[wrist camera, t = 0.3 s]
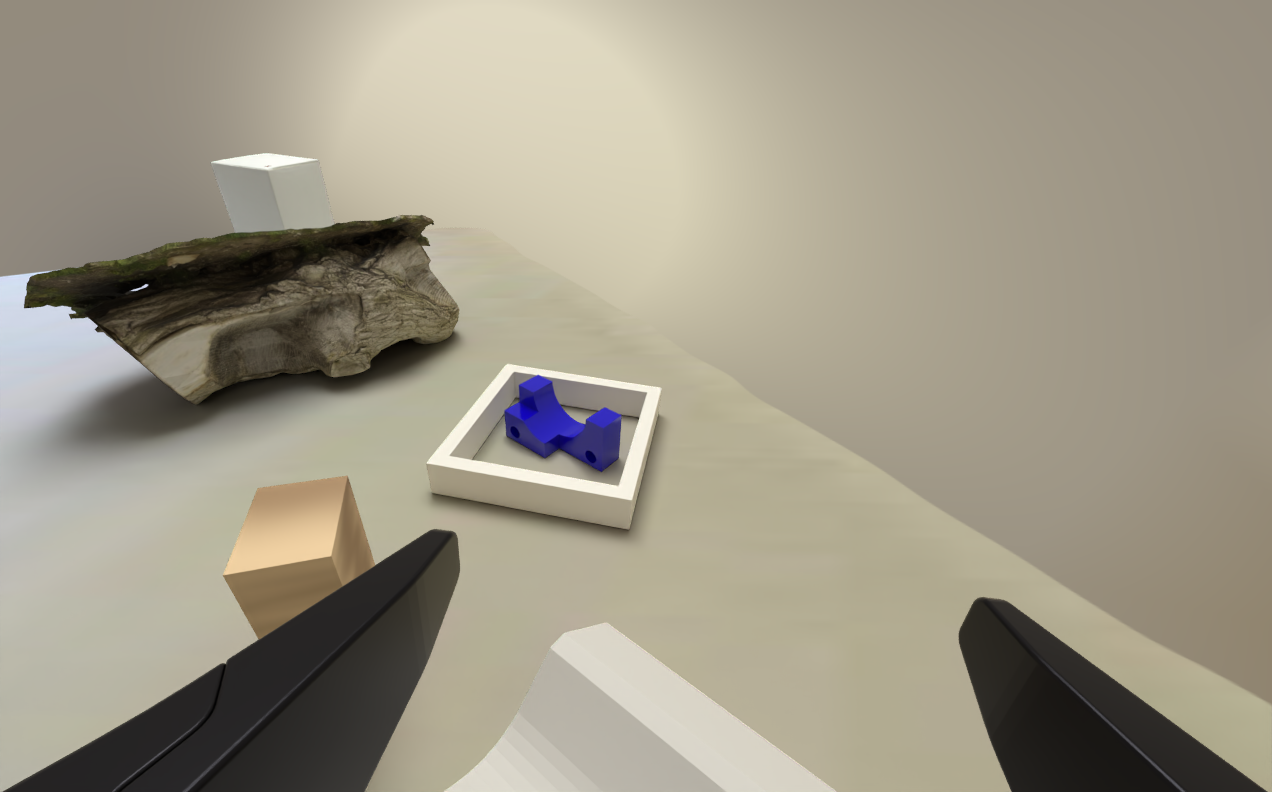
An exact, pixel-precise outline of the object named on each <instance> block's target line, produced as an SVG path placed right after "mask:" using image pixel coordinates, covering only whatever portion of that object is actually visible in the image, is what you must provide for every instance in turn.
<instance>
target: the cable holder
mask: <svg viewBox="0 0 1272 792" xmlns="http://www.w3.org/2000/svg"><path fill="white" fill-rule="evenodd" d="M519 399H520V402H519V403H517V404H515V405H513V406H511V407H510V408H508V409H506V410H504V412H505V424H506V436H508V437H510V438H511V439H513V440H515V441H516V442H518V443H520V444H522V445H523V446H525V447H527V448H528V449H530V450H532V451H533V452H535V453H537V454H539V455H540V456H542V457H544V458H546V457H547V456H549V455H550V454H552V453H553V452H555V451H556V450H558V449H559V448H560V449H561V450H563V451H565V452H567V453H569V454H570V455H572V456H574V457H576V458H577V459H579V460H581V461H583V462H585V463H586V464H588V465H590V466H592V467H593V468H595V469H597V470H599V471H601V472H602V471H603V470H604V469H606V468H607V467H608V466H609V465H611V464H612V463H613V462H614V461H616V460H617V459H618V458H619V446H620V432H621V417H622V415H620V414H618V413H616V412H614V411H612V410H610V409H608V408H606V407H604V408H603V409H601V410H600V411H598V412H597V413H595V414H594V415H592V416H591V417H589V418H588V419H586V424H581V423H579V422H577V421H575V420H574V419H572V418H571V417H570V416H569V415H568V414H567V413H566V412H565V411H564V410H563V408H562V407H561V405H560V404H559V402H558V400H557V398H556V395H555V393H554V389H553V382H552V381H550V380H548V379H546V378H544V377H542V376H540V375H537V376H535V377H533V378H531V379H529V380H527V381H525V382H523V383H521V384H519Z"/></svg>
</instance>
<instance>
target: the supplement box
mask: <svg viewBox="0 0 1272 792" xmlns="http://www.w3.org/2000/svg"><path fill="white" fill-rule="evenodd" d="M210 163H211V166H212V169H213V172H214V175H215V177H216V180H217V183H218V186H219V189H220V191H221V194H222V197H223V200H224V202H225V206H226V208H227V211H228V214H229V217H230V220H231V222H232V225H233V228H234V231H235V233H238V232H258V231H278V230H287V229H304V228H324V227H329V226H332V225H334V224H335V223H334V219H333V215H332V211H331V207H330V203H329V199H328V195H327V191H326V187H325V184H324V179H323V175H322V171H321V167H320V163H319V160H317V159H308V158H300V157H292V156H284V155H276V154H270V153H264V154H257V155H250V156H243V157H237V158H231V159H225V160H219V161H213V162H210Z"/></svg>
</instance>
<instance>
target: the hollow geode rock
mask: <svg viewBox="0 0 1272 792" xmlns="http://www.w3.org/2000/svg"><path fill="white" fill-rule="evenodd" d="M429 224H432V225H433V224H434V223H433V220H432V219H430V218H427V217H426V216H423V215H421V216H416V215H410V216H409V215H398V216H396V217H393V218H389V219H386V220H381V221H352V222H348V223H337V224H334V225H332V226H329V227H324V228H304V229H287V230H278V231H258V232H238V233H231V234H226V235H222V236H218V237H215V238H212V239H211V238H199V239H194V240H192V241H189V242H178V243H177V242H176V243H168V244H165V245H164V246H161V247H159V248H156V249H154V250H152V251H150V252H147V253H143V254H139V255H135V256H132V257H129V258H127V259H123V260H114V261H102V262H92V263H87V264H85V265H84V267H79V268H66V269H62V270H58V271H52V272H48V273H42V274H37V275H34V276H32V277H30V278H29V281H28V283H27V289H26V290H27V295H26V296H25V304H24V308H34V307H43V306H45V305H50V306H54V307H57V306H68V307H72V308H71V310H73V311H75V312H76V313H75V314H69V316H70V318H71V319H72V318H86V317H88V318H89V319H91V320H92V321H93V322H94V323H95V324H96V325H97V326H98V327H97V328H96V329H95V330H96V331H97V332H104V333H105V334H106V335H107V336H108V337H110V338H111V339H113V340H114V341H115V342H116V343H117V344H118V345H120V346H121V347H122V348H123V349H124V350H125V351H127V352H128V353H129V354H130V355H132V356H133V357H134V358H135V359H136V360H137V361H138V362H140V363H141V364H142V365H143V366H145V367H146V368H147V369H148V370H149V371H150V372H151V373H153V374H154V375H155V376H156V377H157V378H158V379H160V380H161V381H162V382H164V383H165V384H166V385H167V386H168V387H170V388H171V389H172V390H173V391H175V392H176V393H178V394H179V395H180V396H182V397H183V398H185V399H186V400H187V401H190V402H191V403H192V404H196V405H198V404H199V403H200V402H201V401H203V400H204V399H205V398H207V397H208V396H209V395H210V394H211V393H213V392H214V391H217V390H219V389H222V388H223V387H227V386H230V385H232V384H234V383H236V382H242V381H247V380H251V379H257V378H266V377H272V376H274V375H276V374H279V373H281V372H285V373H290V374H300V373H306V372H310V371H315V370H317V369H320V370H322V371H323V372H324V373H325V374H326V375H328V376H331V377H339V376H347V375H353V374H356V373H360V372H363V371H366V370H367V369H369V368H370V361H371V359H372V358H373V357H374V356H376V355H377V354H378V353H379V352H380V351H381V350H382V349H384V348H386V347H388V346H390V345H392V344H394V343H396V342H398V341H401V340H406V339H410V338H411V339H412V340H413V341H415V342H416V343H421V344H429V343H438V342H440V341H443V340H445V339H447V338H448V337H450V336H451V334H452V332H453V330H454V327H455V325H456V323H457V322H458V315H459V308H458V306H457V304H456V303H455V301H454V300H453V299H452V297H451V296H450V295H449V293H448V292H447V291H446V289H445V288H444V287H443V286H442V284H441V283H440V282H439V281H438V279H437V278H436V277H435V275H434V274H433V273H432V272H431V270H430V268H429V263H430V261H431V260H430V259H429V257H428V256H427V254H426V252H425V251H424V249H423V248H422V246H430V245H429V241H428V239H427V238H426V237H423V236H422V235H421V233H422V231H423V230H424V229H425V227H426V226H428V225H429ZM145 284H148V286H147V287H146V288H143V289H140V290H138V291H131V290H133V289H137V288H140V287H142V286H144V285H145Z"/></svg>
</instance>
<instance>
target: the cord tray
mask: <svg viewBox="0 0 1272 792" xmlns="http://www.w3.org/2000/svg"><path fill="white" fill-rule="evenodd" d="M537 375H540V376H542V377H544V378H546V379H548V380H550V381H552V382H553V389H554V393H555V395H556V398H557V400H558V402H559V404H560V405H566V406H572V407H578V408H584V409H590V410H597V411H600V410H601V409H603V408H604V407H606V408H608V409H610V410H612V411H614V412H616V413H618V414H621V415H627V416H633V417H640V418H639V421H638V425H637V428H636V431H635V435H634V438H633V441H632V444H631V448H630V451H629V454H628V458H627V461H626V464H625V467H624V471H623V474H622V477H621V481H620V484H619V486H615V485H610V484H604V483H598V482H593V481H587V480H582V479H576V478H570V477H565V476H559V475H554V474H548V473H542V472H537V471H531V470H526V469H520V468H514V467H509V466H503V465H498V464H492V463H486V462H481V461H475V460H472V459H473V457H474V456H475V454H476V453H477V452H478V450H479V449H480V447H481V446H482V444H483V443H484V442H485V440H486V439H487V437H488V436H489V434H490V433H491V432H492V430H493V429H494V427H495V426H496V424H497V423H498V422H499V420H500V419H501V417H502V416H503V415H504V413H505V412H504V410H506V409H508V407H509V406H510V405H511V403H512V402H513V400H514V399H515V397H517V398H519V384H521V383H523V382H525V381H527V380H529V379H531V378H533V377H535V376H537ZM661 389H662V388H659V387H652V386H646V385H639V384H633V383H626V382H620V381H613V380H607V379H601V378H594V377H588V376H581V375H575V374H568V373H562V372H556V371H549V370H543V369H536V368H530V367H523V366H517V365H511V364H506V366H505V367H504V368H503V369H502V371H501V372H500V373H499V374H498V375H497V377H496V378H495V379H494V380H493V382H492V383H491V384H490V385H489V387H488V388H487V389H486V390H485V391H484V393H483V394H482V395H481V396H480V398H479V399H478V400H477V401H476V403H475V404H474V405H473V406H472V407H471V409H470V410H469V411H468V412H467V414H466V415H465V416H464V417H463V419H462V420H461V421H460V422H459V423H458V425H457V426H456V427H455V428H454V430H453V431H452V432H451V433H450V434H449V436H448V437H447V438H446V439H445V441H444V442H443V443H442V444H441V446H440V447H439V448H438V449H437V450H436V452H435V453H434V454H433V455H432V457H431V458H430V459H429V460H428V462H427V463H426V465H427V470H428V475H429V480H430V485H431V490H432V493H436V494H441V495H446V496H452V497H457V498H462V499H468V500H473V501H478V502H484V503H489V504H494V505H500V506H505V507H510V508H516V509H521V510H526V511H532V512H537V513H542V514H548V515H553V516H558V517H564V518H569V519H574V520H580V521H585V522H590V523H596V524H601V525H606V526H612V527H617V528H622V529H628V530H629V528H630V525H631V521H632V517H633V513H634V509H635V505H636V501H637V497H638V493H639V489H640V485H641V481H642V477H643V473H644V469H645V465H646V461H647V457H648V453H649V449H650V446H651V442H652V438H653V434H654V430H655V426H656V422H657V418H658V414H659V406H660V397H661Z"/></svg>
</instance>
